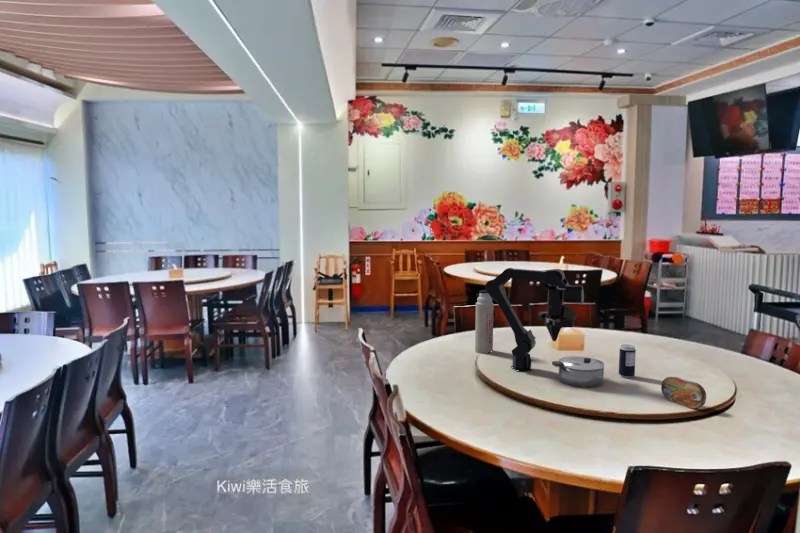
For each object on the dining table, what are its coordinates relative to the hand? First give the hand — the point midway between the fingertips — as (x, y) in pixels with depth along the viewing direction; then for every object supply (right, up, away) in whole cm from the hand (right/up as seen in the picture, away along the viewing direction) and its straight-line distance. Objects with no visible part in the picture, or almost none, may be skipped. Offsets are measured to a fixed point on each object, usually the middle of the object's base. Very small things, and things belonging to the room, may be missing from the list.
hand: (554, 341), depth 212 cm
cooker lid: (+6, -8, -9) cm, 14 cm away
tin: (+33, -17, -33) cm, 50 cm away
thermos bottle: (-22, -10, +36) cm, 43 cm away
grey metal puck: (+8, -14, -8) cm, 18 cm away
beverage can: (+27, -14, -2) cm, 31 cm away
